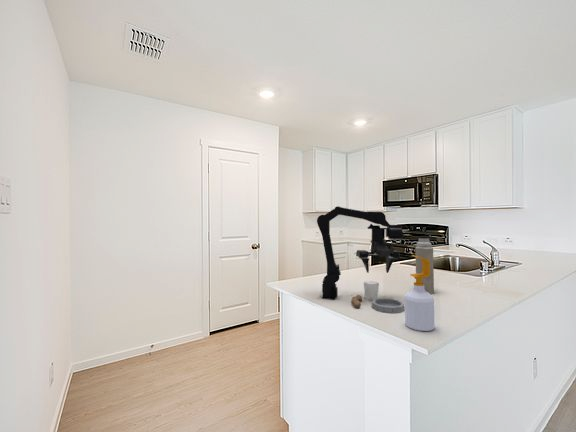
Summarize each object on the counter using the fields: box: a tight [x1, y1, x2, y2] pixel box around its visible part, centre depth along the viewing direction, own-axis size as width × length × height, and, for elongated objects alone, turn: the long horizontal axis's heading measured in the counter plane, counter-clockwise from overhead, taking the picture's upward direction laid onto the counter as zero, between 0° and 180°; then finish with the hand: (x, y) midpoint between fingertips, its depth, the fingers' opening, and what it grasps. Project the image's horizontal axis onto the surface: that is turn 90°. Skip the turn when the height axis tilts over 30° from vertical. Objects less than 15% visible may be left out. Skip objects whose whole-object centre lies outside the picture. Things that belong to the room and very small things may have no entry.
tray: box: [371, 297, 405, 314], centre depth 113 cm, size 12×12×2 cm
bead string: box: [351, 294, 363, 309], centre depth 118 cm, size 11×4×3 cm, turn 161°
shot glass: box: [363, 280, 380, 300], centre depth 128 cm, size 7×7×7 cm
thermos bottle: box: [414, 235, 435, 295], centre depth 135 cm, size 8×8×28 cm
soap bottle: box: [404, 254, 436, 332], centre depth 94 cm, size 9×9×25 cm
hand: (377, 272), depth 125 cm, fingers open, 9 cm apart
